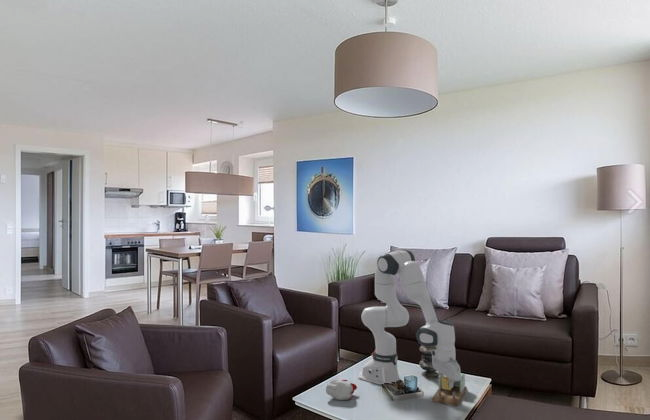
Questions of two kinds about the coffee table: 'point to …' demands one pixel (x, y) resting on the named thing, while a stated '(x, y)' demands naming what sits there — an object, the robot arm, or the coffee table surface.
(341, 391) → the white red lumpy figurine
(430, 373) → the apothecary jar
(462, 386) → the housing cover
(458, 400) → the housing base
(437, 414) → the coffee table surface
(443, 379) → the yellow cube
